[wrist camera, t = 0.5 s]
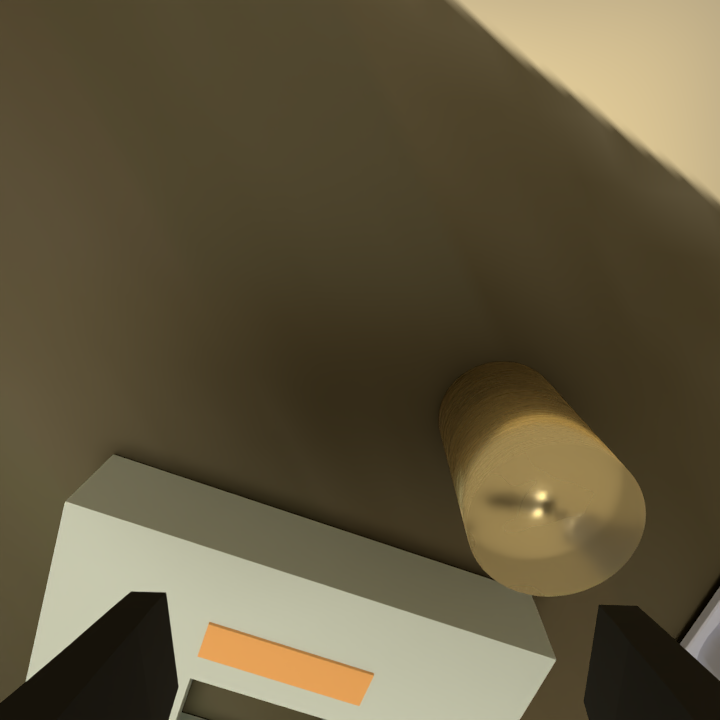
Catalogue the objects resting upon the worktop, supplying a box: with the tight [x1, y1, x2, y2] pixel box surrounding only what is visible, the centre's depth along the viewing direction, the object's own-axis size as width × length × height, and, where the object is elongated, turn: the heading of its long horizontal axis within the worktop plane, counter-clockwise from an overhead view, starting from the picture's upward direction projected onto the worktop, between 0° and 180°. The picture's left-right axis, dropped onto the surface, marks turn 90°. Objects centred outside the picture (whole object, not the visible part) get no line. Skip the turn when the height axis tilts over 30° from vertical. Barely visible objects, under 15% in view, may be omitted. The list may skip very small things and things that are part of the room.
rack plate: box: [26, 454, 556, 720], centre depth 20 cm, size 16×16×3 cm
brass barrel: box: [439, 361, 646, 597], centre depth 15 cm, size 4×4×6 cm
